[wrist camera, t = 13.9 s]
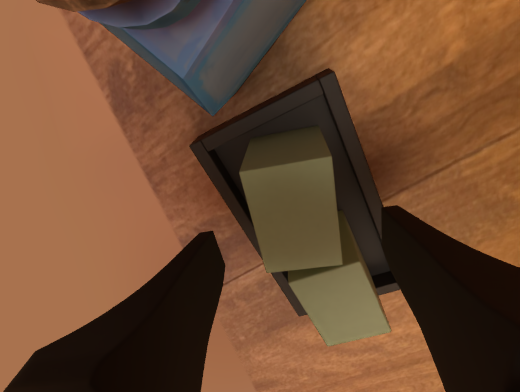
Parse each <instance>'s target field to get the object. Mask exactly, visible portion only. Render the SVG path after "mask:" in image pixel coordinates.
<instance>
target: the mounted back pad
mask: <svg viewBox="0 0 520 392" xmlns="http://www.w3.org/2000/svg"><path fill="white" fill-rule="evenodd" d="M337 212H338V222H339V231H340V241H341V251H342V261H343V264H342V265H336V266H327V267H318V268H308V269H299V270H290V271H288V284H289V285H290V287H291V288H292V290H293V292H294V293H295V295H296V296H297V298H298V300H299V301H300V303H301V304H302V306H303V308H304V309H305V311H306V313H307V314H308V316H309V317H310V319H311V321H312V322H313V324H314V325H315V327H316V329H317V330H318V332H319V333H320V335H321V337H322V338H323V340H324V341H325V343H326V345H327V346H333V345H337V344H341V343H346V342H350V341H354V340H359V339H363V338H368V337H372V336H376V335H381V334H385V333H389V332H391V328H390V325H389V323H388V320H387V317H386V315H385V312H384V309H383V307H382V304H381V301H380V299H379V296H378V293H377V291H376V288H375V285H374V283H373V280H372V277H371V275H370V272H369V270H368V267H367V265H366V263H365V261H364V258H363V256H362V254H361V251H360V249H359V247H358V245H357V242H356V240H355V238H354V235H353V233H352V231H351V229H350V226H349V224H348V222H347V219H346V217H345V215H344V213H343V211H342V210H340V211H337Z"/></svg>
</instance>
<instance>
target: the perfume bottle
mask: <svg viewBox="0 0 520 392" xmlns="http://www.w3.org/2000/svg"><path fill="white" fill-rule="evenodd" d="M36 1H37V2H39V3H42V4H46V5H50V6H54V7H57V8H61V9H65V10H69V11H73V12H78V13H80V14H82V15H83V16H85V17H86V18H88V19H90V20H92V21H96V22H99V23H100V24H102V25H103V26H104V27H105V28H107V29H108V30H109V31H110V32H111V33H113V34H114V35H115V36H116V37H117V38H119V39H120V40H121V41H122V42H123V43H125V44H126V45H127V46H128V47H130V48H131V49H132V50H133V51H134V52H136V53H137V54H138V55H139V56H140V57H142V58H143V59H144V60H145V61H146V62H148V63H149V64H150V65H151V66H153V67H154V68H155V69H156V70H157V71H159V72H160V73H161V74H162V75H163V76H165V77H166V78H167V79H168V80H169V81H171V82H172V83H173V84H174V85H176V86H177V87H178V88H179V89H180V90H182V91H183V92H184V93H185V94H186V95H188V96H189V97H190V98H191V99H193V100H194V101H195V102H196V103H197V104H199V105H200V106H201V107H202V108H203V109H205V110H206V111H207V112H208V113H209V114H211V115H212V116H214V115H215V114H216V113H217V112H218V111H219V110H220V109H221V108H222V107H223V106H224V105H225V104H226V103H227V101H228V100H229V99H230V98H231V97H232V96H233V95H234V94H235V93H236V92H237V91H238V90H239V88H240V87H241V86H242V84H243V83H244V82H245V81H246V79H247V78H248V77H249V75H250V74H251V73H252V71H253V70H254V69H255V67H256V66H257V65H258V63H259V62H260V61H261V59H262V58H263V57H264V55H265V54H266V53H267V52H268V50H269V49H270V48H271V46H272V45H273V44H274V42H275V41H276V40H277V38H278V37H279V36H280V34H281V33H282V32H283V30H284V29H285V28H286V26H287V25H288V24H289V23H290V21H291V20H292V19H293V17H294V16H295V15H296V13H297V12H298V11H299V9H300V8H301V7H302V5H303V4H304V3H305V1H306V0H36Z"/></svg>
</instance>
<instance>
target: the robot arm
mask: <svg viewBox="0 0 520 392" xmlns="http://www.w3.org/2000/svg"><path fill="white" fill-rule="evenodd" d="M381 227H382V249H383V252H384V255H385V258H386V260H387V263H388V265H389V268H390V270H391V272H392V274H393V276H394V278H395V280H396V282H397V284H398V286H399V287H400V289H401V291H402V293H403V295H404V297H405V299H406V301H407V303H408V304H409V306H410V308H411V310H412V312H413V314H414V316H415V318H416V320H417V322H418V324H419V326H420V328H421V330H422V333H423V335H424V338H425V340H426V343H427V345H428V348H429V350H430V352H431V355H432V357H433V360H434V363H435V365H436V368H437V370H438V373H439V375H440V378H441V381H442V383H443V386H444V389H445V391H446V392H520V268H519V267H516V266H514V265H511V264H508V263H506V262H503V261H501V260H498V259H496V258H494V257H491V256H489V255H487V254H484V253H482V252H480V251H478V250H475V249H473V248H471V247H469V246H467V245H465V244H463V243H461V242H459V241H457V240H455V239H453V238H451V237H449V236H448V235H446V234H444V233H442V232H440V231H439V230H437V229H435V228H433V227H432V226H430V225H428V224H427V223H425V222H423V221H422V220H420V219H419V218H417V217H415V216H414V215H412V214H411V213H409V212H407V211H406V210H404V209H403V208H401V207H399V206H398V205H396V206H389V207H381ZM224 272H225V263H224V260H223V258H222V255H221V252H220V249H219V247H218V244H217V241H216V238H215V235H214V233H213V231H208V232H201V233H199V234H198V235H197V236H196V237H195V238H194V239H193V240H192V241H191V242H190V243H189V244H188V245H187V246H186V247H185V248H184V249H183V250H182V251H181V252H180V253H179V254H178V255H176V257H175V258H173V259H172V260H171V261H170V262H169V263H168V264H167V265H166V266H165V267H164V268H163V269H162V270H161V271H160V272H158V273H157V274H156V275H155V276H154V277H153V278H152V279H151V280H149V281H148V282H147V283H146V284H145V285H143V286H142V287H141V288H140V289H139V290H137V291H136V292H134V293H133V294H132V295H130V296H129V297H128V298H126V299H125V300H124V301H122V302H120V303H119V304H118V305H116V306H115V307H113V308H112V309H110V310H109V311H108V312H106V313H104V314H103V315H101V316H99V317H98V318H96V319H94V320H93V321H91V322H90V323H88V324H86V325H84V326H83V327H81V328H79V329H77V330H76V331H74V332H72V333H70V334H68V335H66V336H64V337H62V338H60V339H59V340H57V341H55V342H53V343H51V344H49V345H47V346H45V347H43V348H41V349H39V350H37V351H35V352H34V353H33V355H32V356H31V357H30V359H29V360H28V361H27V362H26V364H25V365H24V366H23V367H22V369H21V370H20V371H19V373H18V374H17V375H16V376H15V378H14V379H13V380H12V381H11V383H10V384H9V385H8V387H7V388H6V389H5V390H4V392H201V385H202V377H203V370H204V364H205V358H206V352H207V345H208V341H209V336H210V332H211V328H212V324H213V321H214V317H215V313H216V310H217V306H218V302H219V298H220V295H221V291H222V287H223V280H224Z"/></svg>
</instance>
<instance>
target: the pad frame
mask: <svg viewBox="0 0 520 392" xmlns="http://www.w3.org/2000/svg"><path fill="white" fill-rule="evenodd" d="M317 125H318V126H319V128H320V130H321V132H322V135H323V137H324V139H325V142H326V144H327V146H328V149H329V151H330V153H331V156H332V162H333V172H334V182H335V192H336V202H337V211H340V210H342V211H343V213H344V215H345V217H346V219H347V222H348V224H349V226H350V229H351V231H352V233H353V235H354V238H355V240H356V242H357V245H358V247H359V249H360V251H361V254H362V256H363V258H364V261H365V263H366V265H367V267H368V270H369V272H370V275H371V277H372V280H373V283H374V285H375V288H376V291H377V293H378V296H379V295H382V294H386V293H390V292H393V291H397V290H400V287H399V286H398V284H397V282H396V280H395V278H394V276H393V274H392V272H391V270H390V268H389V265H388V263H387V260H386V258H385V255H384V252H383V249H382V227H381V207H383V205H382V202H381V200H380V197H379V194H378V191H377V188H376V186H375V183H374V180H373V177H372V175H371V172H370V169H369V166H368V163H367V161H366V158H365V155H364V152H363V150H362V147H361V144H360V141H359V138H358V136H357V133H356V130H355V127H354V125H353V122H352V119H351V116H350V113H349V111H348V108H347V105H346V102H345V100H344V97H343V94H342V91H341V88H340V86H339V83H338V80H337V77H336V75H335V72H334V71H332V70H330V69H326V70H324V71H323V72H321V73H319V74H317V75H315V76H313V77H311V78H309V79H307V80H305V81H303V82H301V83H300V84H298V85H296V86H294V87H292V88H290V89H288V90H286V91H284V92H282V93H280V94H278V95H277V96H275V97H273V98H271V99H269V100H267V101H265V102H263V103H261V104H259V105H257V106H255V107H254V108H252V109H250V110H248V111H246V112H244V113H242V114H240V115H238V116H236V117H234V118H232V119H231V120H229V121H227V122H225V123H223V124H221V125H219V126H217V127H215V128H213V129H211V130H210V131H208V132H206V133H204V134H202V135H200V136H198V137H197V138H196V139H195V140H194V141H193V142H192V144H191V145H190V148H191V150H192V151H193V153H194V154H195V156H196V157H197V159H198V161H199V162H200V164H201V165H202V167H203V168H204V170H205V171H206V173H207V175H208V176H209V178H210V179H211V181H212V182H213V184H214V185H215V187H216V189H217V190H218V192H219V193H220V195H221V196H222V198H223V199H224V201H225V202H226V204H227V206H228V207H229V209H230V210H231V212H232V213H233V215H234V216H235V218H236V220H237V221H238V223H239V224H240V226H241V227H242V229H243V230H244V232H245V233H246V235H247V237H248V238H249V240H250V241H251V243H252V244H253V246H254V247H255V249H256V251H257V252H258V254H259V255H260V257H261V258H262V255H261V251H260V247H259V244H258V240H257V236H256V233H255V229H254V225H253V222H252V218H251V214H250V211H249V207H248V204H247V200H246V196H245V193H244V189H243V185H242V182H241V178H240V174H239V171H240V168H241V165H242V162H243V159H244V157H245V154H246V151H247V148H248V145H249V142H250V139H251V138H254V137H260V136H265V135H270V134H275V133H280V132H286V131H291V130H296V129H301V128H306V127H311V126H317ZM262 260H263V258H262ZM271 274H272V275H273V277H274V278H275V280H276V282H277V283H278V285H279V286H280V288H281V289H282V291H283V292H284V294H285V295H286V297H287V299H288V300H289V302H290V303H291V305H292V306H293V308H294V309H295V311H296V313H297V314H298V316H303V315H307V313H306V311H305V309H304V308H303V306H302V304H301V303H300V301H299V300H298V298H297V296H296V295H295V293H294V292H293V290H292V288H291V287H290V285H289V284H288V271H281V272H271Z"/></svg>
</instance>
